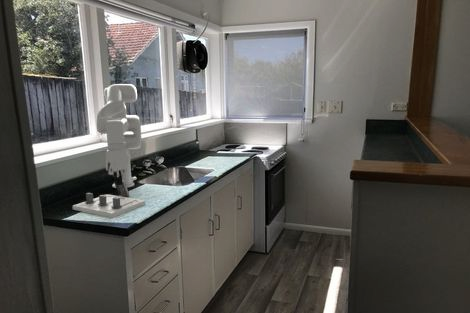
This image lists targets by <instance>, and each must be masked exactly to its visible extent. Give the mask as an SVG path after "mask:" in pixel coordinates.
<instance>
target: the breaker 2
mask: <svg viewBox="0 0 470 313" xmlns="http://www.w3.org/2000/svg"><path fill="white" fill-rule="evenodd" d="M105 195H106V194H100V195H98V197H99V204H98V205H101V206H105V205H108V204H109V203H107V202H106V196H105Z"/></svg>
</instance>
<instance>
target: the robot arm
mask: <svg viewBox="0 0 470 313" xmlns="http://www.w3.org/2000/svg"><path fill="white" fill-rule="evenodd" d="M137 92H138V91H137V87H136V86H135V85H133V84H130V83H128V84H127V83H125V84H124V83H119V84H118V83H117V84H116V83H115V84H111V85H109V86H108V87H105V88H104V90H103V96H104V97H105V100H106V104H104V106H102V107H101V108H100V109H99V111H98V112H97V115H96V130H97V132H98V133H99V134H102V135H106V138H107V139H106V141H107V150H106V152H105V170H106V172H107V174H108V175H110V176H113V177H114V182H115V183H113V184H112V188H115V189H117V188H116V186H115V185H122V180H123V181H124V182H125V184H126V187H127V189H128V188H131V187H134V186H135V182H134V181H136V180H137V177H136V176H132V172H131V171H132V170H131V156H130V154H129V153H128V152H127V150H138V149H141V148H142V128H141V127H142V126H141V119H140V117H139V116H138V115H136V114H135V115H134V114H133V115H132V114H131V115H129V114H127V107H126V103H135V102H136V101H137V99H138V93H137ZM126 132H127V133H126ZM128 132H129V133H128ZM130 132H131V133H130Z"/></svg>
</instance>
